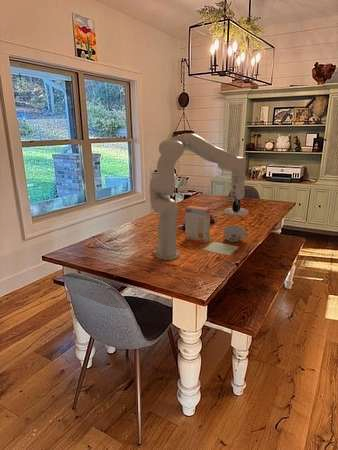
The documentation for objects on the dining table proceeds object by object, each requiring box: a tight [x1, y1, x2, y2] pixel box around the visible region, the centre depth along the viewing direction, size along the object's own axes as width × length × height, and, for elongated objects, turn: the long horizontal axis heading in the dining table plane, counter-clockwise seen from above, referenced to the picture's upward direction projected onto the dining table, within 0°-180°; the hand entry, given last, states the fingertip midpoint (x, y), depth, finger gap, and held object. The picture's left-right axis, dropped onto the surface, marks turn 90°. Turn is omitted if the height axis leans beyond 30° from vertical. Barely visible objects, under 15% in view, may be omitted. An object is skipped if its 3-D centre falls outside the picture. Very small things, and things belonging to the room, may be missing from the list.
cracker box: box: [184, 204, 211, 244], centre depth 190 cm, size 14×6×21 cm, turn 54°
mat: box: [202, 241, 240, 256], centre depth 180 cm, size 16×15×1 cm
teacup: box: [222, 225, 249, 243], centre depth 190 cm, size 15×12×8 cm
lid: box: [223, 202, 250, 217], centre depth 184 cm, size 14×14×6 cm
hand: (236, 209), depth 185 cm, fingers closed on lid, 3 cm apart
